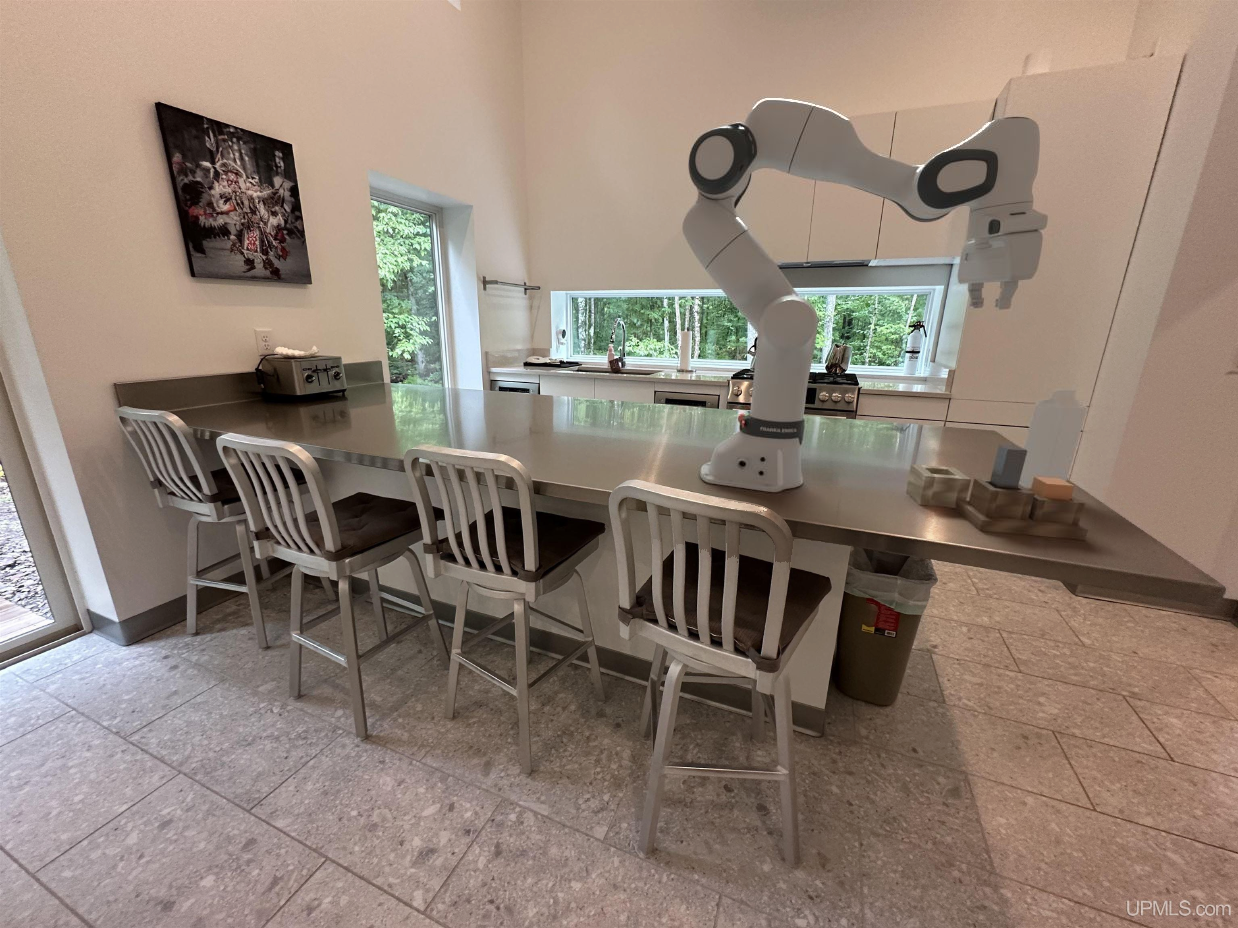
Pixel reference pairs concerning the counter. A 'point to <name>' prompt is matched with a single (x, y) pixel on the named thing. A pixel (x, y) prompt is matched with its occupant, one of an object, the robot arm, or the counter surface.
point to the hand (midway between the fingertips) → (988, 308)
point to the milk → (1052, 437)
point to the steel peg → (1008, 467)
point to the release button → (1052, 488)
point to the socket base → (1021, 512)
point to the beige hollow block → (937, 485)
